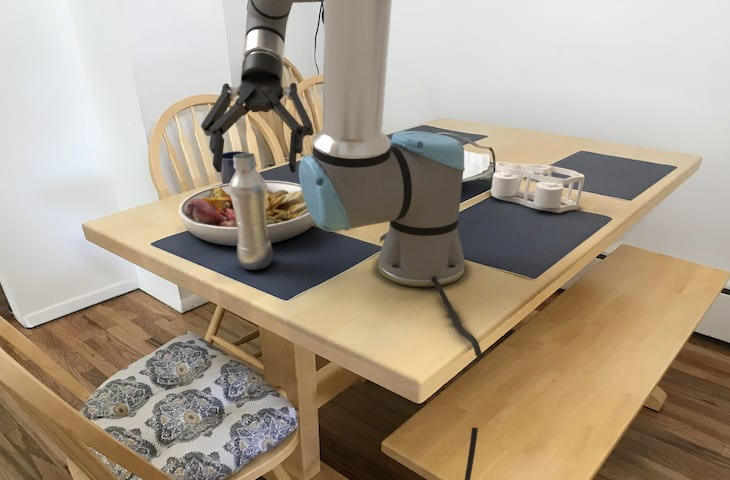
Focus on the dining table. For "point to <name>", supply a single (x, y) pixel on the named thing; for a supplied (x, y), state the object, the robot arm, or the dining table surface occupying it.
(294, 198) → the bowl
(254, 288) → the dining table surface
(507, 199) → the car outline toy
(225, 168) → the navy cup
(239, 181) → the silver metal bottle
